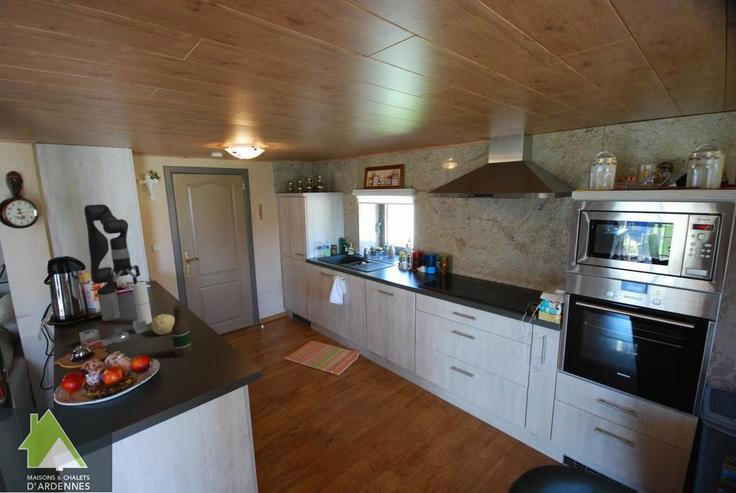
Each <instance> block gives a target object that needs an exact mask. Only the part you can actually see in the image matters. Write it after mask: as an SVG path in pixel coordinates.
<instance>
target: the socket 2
mask: <svg viewBox="0 0 736 493" xmlns="http://www.w3.org/2000/svg"><path fill="white" fill-rule="evenodd" d="M132 326H133V332H134V333H136V334H140V333H143V332H146V331H148V329H147V328H148V327H147V324H146V321H145V320H144V319H135V320H133V321H132Z"/></svg>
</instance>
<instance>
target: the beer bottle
mask: <svg viewBox="0 0 736 493" xmlns="http://www.w3.org/2000/svg"><path fill="white" fill-rule="evenodd" d="M172 310H173V317H174V319H175V321H174V325H173V326H172V332H171V336H172V342H173V343H172V345H173V350H174V355H175V357H180V358H182V357H185V356H189V355H190V354H191V353H192V351H193V350H192V348H193V347H192V341H191V335H190V334H191V332H190V328H189V326H188V324H187V322H185V321H184V317H183V313H182V306H181V305H177V306H173V308H172Z"/></svg>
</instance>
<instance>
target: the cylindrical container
mask: <svg viewBox="0 0 736 493" xmlns="http://www.w3.org/2000/svg"><path fill="white" fill-rule="evenodd" d="M131 287H132V293H133V294H132V295H133V300H134V306H135V311H136V317H137V318H136V320H138V319H144V320H145V321H146V325H149V324H150V323H151V324H152V319H153V317H152V313H151V312H152V311H151V306H150V305H151V304H150V298H149V292H148V286H147V282H146V281H139V282H138V281H137V283H136V285H134V283H132V284H131Z"/></svg>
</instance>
